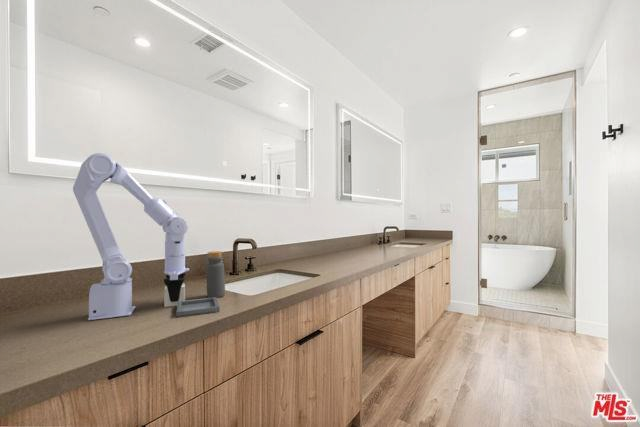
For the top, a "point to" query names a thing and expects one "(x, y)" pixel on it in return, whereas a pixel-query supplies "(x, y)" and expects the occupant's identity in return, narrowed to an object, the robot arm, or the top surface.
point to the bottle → (215, 275)
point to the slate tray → (197, 307)
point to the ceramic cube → (167, 299)
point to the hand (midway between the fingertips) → (175, 298)
